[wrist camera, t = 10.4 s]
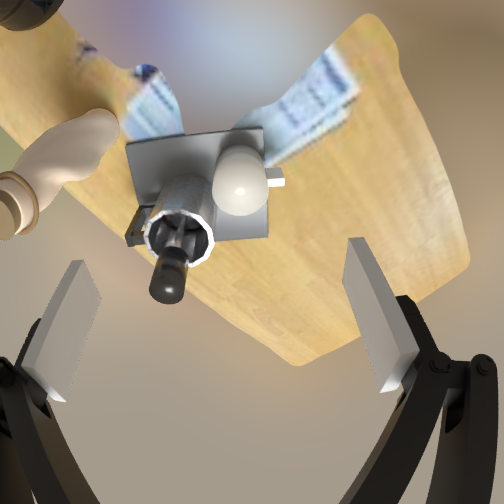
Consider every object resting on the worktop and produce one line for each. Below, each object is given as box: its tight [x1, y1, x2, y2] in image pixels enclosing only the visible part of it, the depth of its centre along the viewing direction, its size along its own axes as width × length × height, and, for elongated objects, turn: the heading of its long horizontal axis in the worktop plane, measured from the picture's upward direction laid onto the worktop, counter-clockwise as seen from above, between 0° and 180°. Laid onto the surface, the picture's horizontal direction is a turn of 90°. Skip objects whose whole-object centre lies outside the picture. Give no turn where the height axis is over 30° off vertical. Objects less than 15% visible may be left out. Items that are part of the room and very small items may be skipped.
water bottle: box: [0, 108, 119, 241], centre depth 33 cm, size 10×9×28 cm
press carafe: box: [125, 173, 218, 267], centre depth 47 cm, size 10×13×12 cm
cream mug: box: [212, 145, 285, 216], centre depth 45 cm, size 8×10×9 cm
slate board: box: [125, 128, 268, 242], centre depth 52 cm, size 20×22×1 cm
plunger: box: [149, 213, 201, 304], centre depth 42 cm, size 7×7×19 cm
